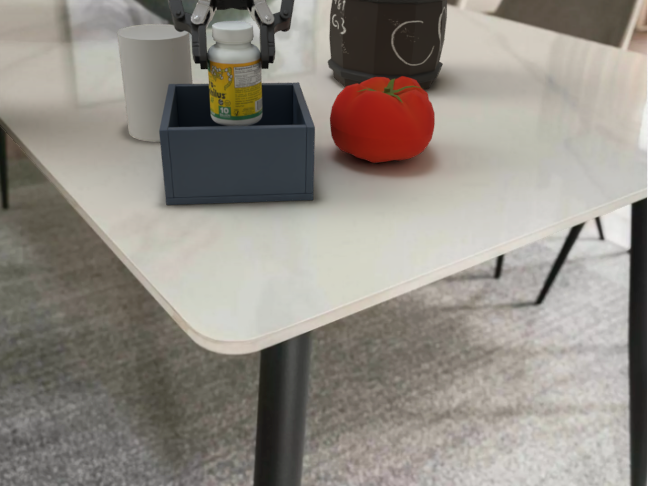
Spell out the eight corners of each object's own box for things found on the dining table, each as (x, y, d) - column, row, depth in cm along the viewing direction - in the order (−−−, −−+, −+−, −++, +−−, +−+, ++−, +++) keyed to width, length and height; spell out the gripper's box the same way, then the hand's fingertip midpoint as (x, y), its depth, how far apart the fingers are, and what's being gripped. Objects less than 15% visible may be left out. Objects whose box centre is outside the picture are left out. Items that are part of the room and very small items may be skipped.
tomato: (376, 186, 72) (381, 108, 68) (308, 148, 81) (310, 77, 76) (460, 161, 79) (470, 89, 74) (389, 129, 87) (394, 62, 83)
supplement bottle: (271, 122, 70) (269, 28, 66) (223, 131, 68) (218, 33, 63) (248, 107, 74) (245, 17, 70) (202, 115, 72) (196, 21, 67)
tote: (166, 205, 67) (158, 130, 63) (174, 149, 79) (168, 83, 75) (313, 200, 69) (315, 127, 65) (298, 146, 81) (299, 82, 77)
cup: (207, 124, 87) (201, 28, 81) (174, 146, 80) (165, 43, 74) (151, 115, 89) (142, 21, 83) (115, 135, 82) (102, 35, 77)
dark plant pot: (461, 76, 109) (475, -28, 102) (409, 104, 96) (420, -13, 89) (366, 57, 118) (372, -40, 110) (306, 80, 105) (308, -29, 97)
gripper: (152, -110, 66) (155, 45, 62) (299, -107, 68) (311, 44, 64) (161, -58, 73) (164, 84, 69) (294, -56, 75) (304, 83, 71)
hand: (234, 64), depth 66 cm, fingers closed on supplement bottle, 5 cm apart
